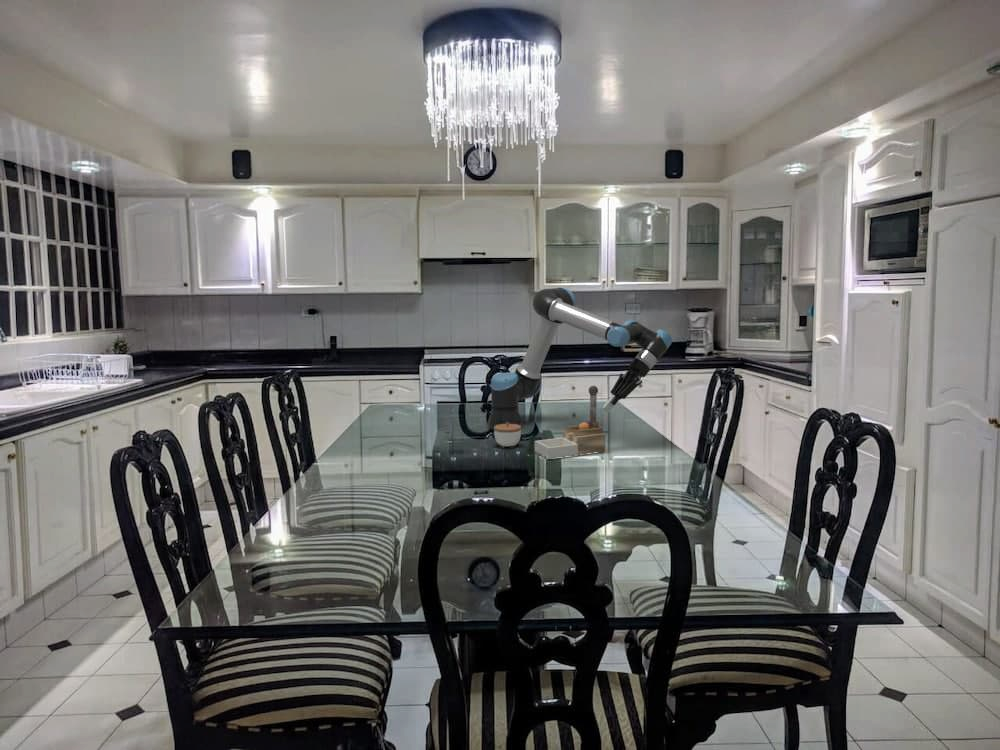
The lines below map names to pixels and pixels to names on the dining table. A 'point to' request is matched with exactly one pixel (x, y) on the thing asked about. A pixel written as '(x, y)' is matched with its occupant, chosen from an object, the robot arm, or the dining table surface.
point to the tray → (556, 447)
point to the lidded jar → (507, 434)
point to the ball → (583, 426)
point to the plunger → (593, 407)
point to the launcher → (586, 439)
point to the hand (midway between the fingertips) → (605, 410)
